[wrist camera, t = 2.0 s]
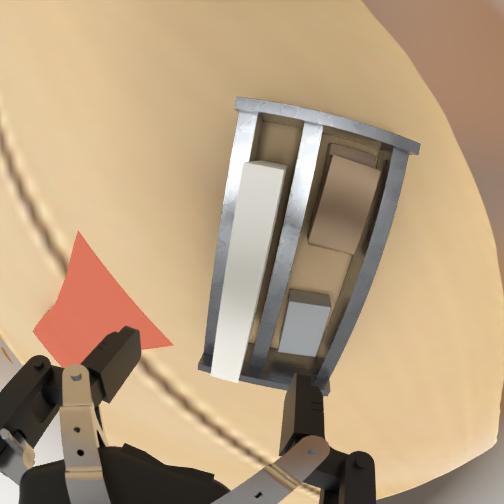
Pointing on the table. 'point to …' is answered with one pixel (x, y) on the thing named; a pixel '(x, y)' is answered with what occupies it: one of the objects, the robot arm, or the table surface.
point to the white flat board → (246, 263)
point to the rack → (362, 263)
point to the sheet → (91, 311)
